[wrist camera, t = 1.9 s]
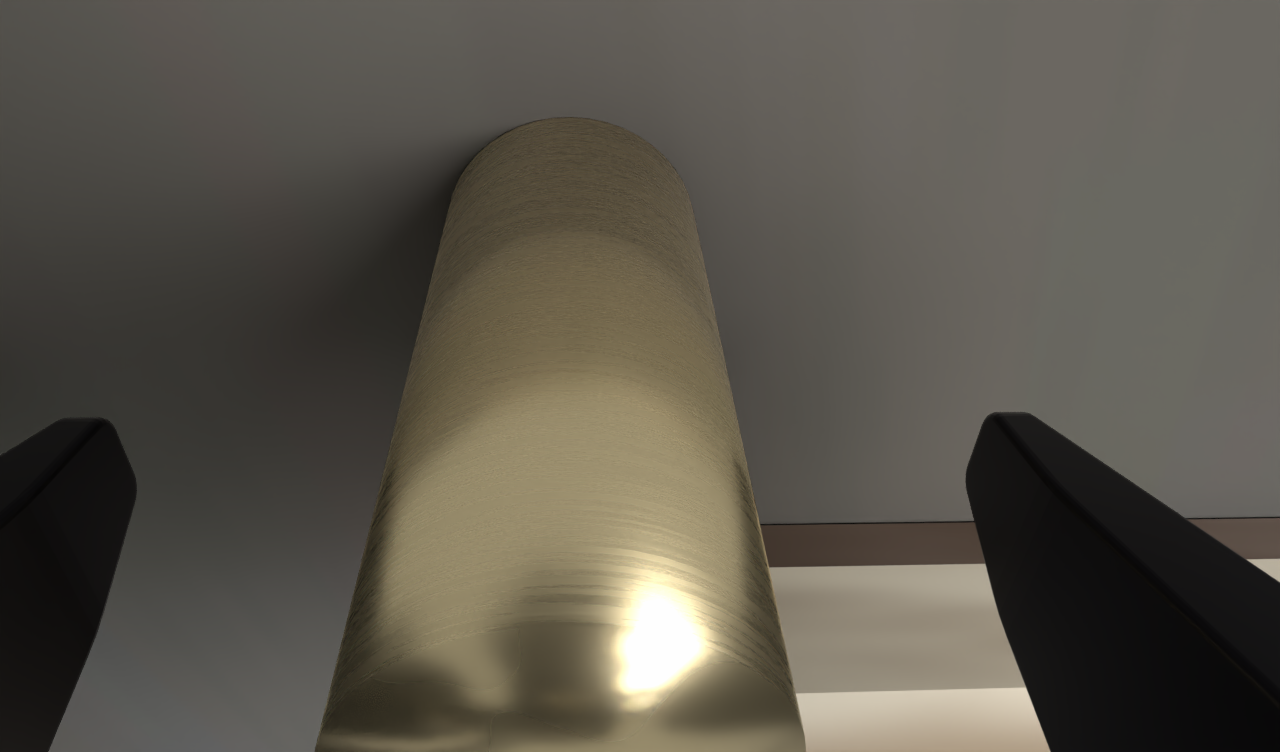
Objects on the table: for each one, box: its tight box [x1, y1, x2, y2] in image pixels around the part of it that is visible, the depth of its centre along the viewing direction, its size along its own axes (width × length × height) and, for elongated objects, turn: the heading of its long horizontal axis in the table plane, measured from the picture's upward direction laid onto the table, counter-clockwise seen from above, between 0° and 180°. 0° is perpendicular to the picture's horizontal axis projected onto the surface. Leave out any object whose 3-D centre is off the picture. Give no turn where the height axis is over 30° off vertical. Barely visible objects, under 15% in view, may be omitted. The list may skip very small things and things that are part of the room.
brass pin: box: [315, 117, 806, 752], centre depth 10 cm, size 4×4×8 cm
